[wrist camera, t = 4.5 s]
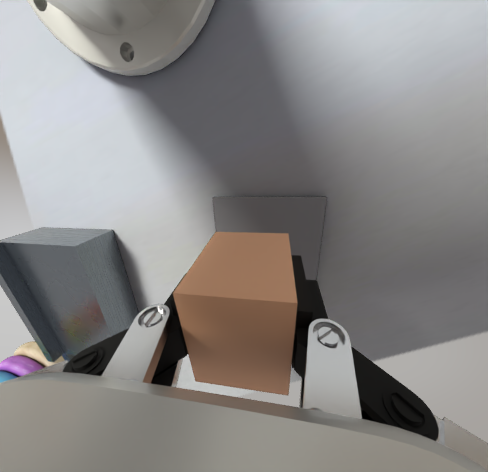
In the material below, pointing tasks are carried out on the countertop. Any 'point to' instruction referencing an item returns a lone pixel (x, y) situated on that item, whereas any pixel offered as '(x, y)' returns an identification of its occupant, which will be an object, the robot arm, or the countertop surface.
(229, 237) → the tan cardboard box
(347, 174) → the countertop surface
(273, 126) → the countertop surface
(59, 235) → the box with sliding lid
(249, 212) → the mat
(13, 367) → the stacking toy
